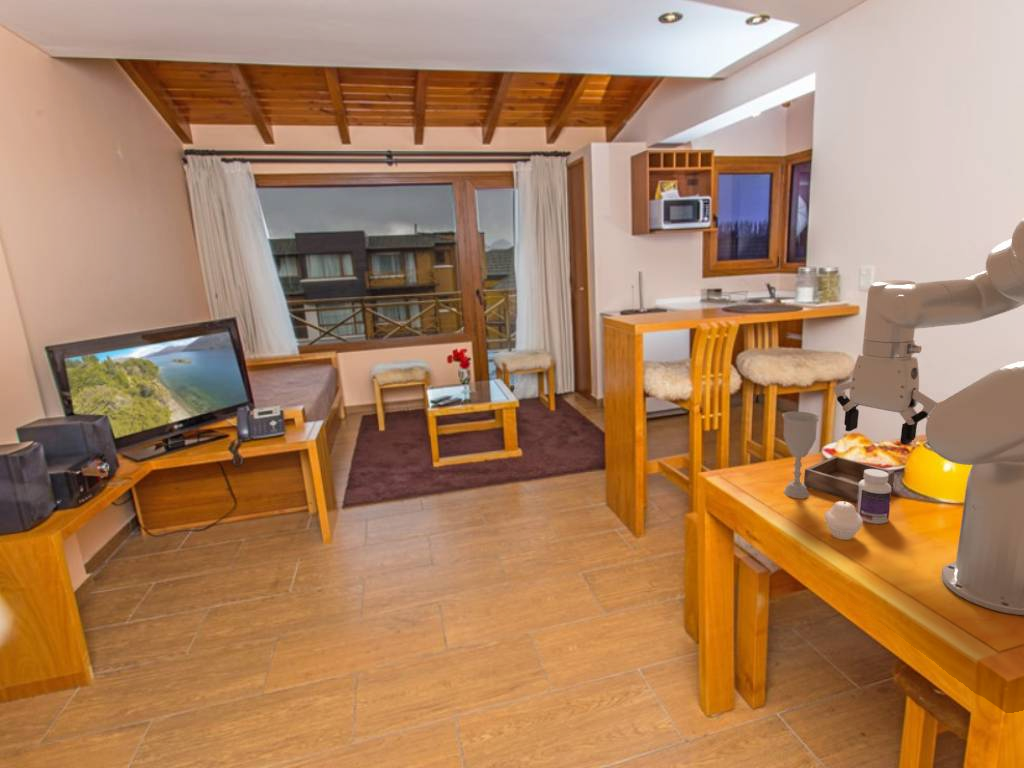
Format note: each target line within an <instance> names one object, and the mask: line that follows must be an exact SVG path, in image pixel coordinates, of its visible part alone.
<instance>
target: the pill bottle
mask: <svg viewBox="0 0 1024 768" xmlns="http://www.w3.org/2000/svg"><path fill="white" fill-rule="evenodd" d="M888 476H889V475H888V473H887V472H885V471H882V470H877V469H867V470H865V471H864V475H863V478H864V479H863V480H861V481H860V482H859V485H858V496H857V503H856V508H855V511H856V512H857V513H858V514H859V515H860V516H861V518H862V520H863V522H866V523H869V524H872V525H873V524H875V525H880V524H881V525H882V524H887V523H888V521H889V520H890V510H891V509H890V507H891V498H892V489H891V486H890V485H889V484H888V483H887V482H888Z"/></svg>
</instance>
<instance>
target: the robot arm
mask: <svg viewBox="0 0 1024 768" xmlns="http://www.w3.org/2000/svg"><path fill="white" fill-rule="evenodd" d="M1021 306H1024V217H1023V218H1022V219H1021V220H1020V222H1019V223H1018V224H1017V225H1016V227H1015V229H1014V231H1013V233H1012V236H1011V238H1010V239H1007V240H1006V241H1003V242H1001V243H999V244H998V245H996V246H995V247H993V248H992V249H991V251H990V252H989V253H988V256H987V258H986V261H985V271H982V272H980V273H977V274H974V275H971V276H970V277H966V278H962V279H949V280H939V281H938V280H937V281H930V282H929V281H928V282H914V281H911V280H881V281H876V282H873V283H872V284H871V285H870V286H869V287H868V291H867V300H866V310H865V311H866V312H865V321H864V331H863V332H864V333H863V342H862V351H861V353H859V354H858V355H857V358H856V361H855V364H854V368H853V371H852V375H851V381H848V382H845V383H842V384H838V385H835V386H833V388H832V389H833V392H834V394H835V396H836V400H837V402H838V403H839V404H840V405H841V407H842V411H844V412H845V413H844V424H843V425H844V426H845V429H844V431H845V432H851V431H853V430H855V429H857V428H858V423H859V413H860V410H859V409H858V408H857V407H858V406H863V407H866V408H867V407H868V408H872V409H877V410H882V411H888V412H893V413H898V414H899V415H900V416H901V418H903V420H904V423H902V425H901V434H900V439H899V440H900V441H899V442H900V444H901V445H903V446H905V445H907V444H909V443H911V442H913V441H915V439H916V435H917V428H918V423H919V422H920V421H922V420H924V419H925V418H927V417H928V418H927V421H926V423H925V436H926V437H925V438H926V440H927V443H928V445H929V446H930V448H931V450H933V452H934V453H936V454H937V455H938V456H939V457H941V458H942V459H944V460H946V461H948V462H951V463H954V464H958V465H965V466H971V468H970V470H969V473H968V474H967V475H968V476H967V481H966V487H965V491H964V500H963V506H962V508H963V509H962V516H961V522H960V530H959V536H958V537H959V538H958V545H957V552H956V559H955V561H953V562H949V563H948V564H945V566H943V567H942V570H941V580H942V582H943V583H944V585H945V586H946V587H947V588H948V589H949V590H950V591H952V592H953V593H954V594H955V595H957V596H959V597H961V598H963V600H964V599H965V600H966V601H968V602H971V603H972V604H975V605H977V606H980V607H983V608H984V609H985V608H986V609H989V610H992V611H996V612H999V613H1004V614H1009V615H1010V614H1011V615H1016V616H1018V615H1019V616H1024V359H1022V360H1019V361H1016V362H1012V363H1009V364H1007V365H1004V366H1002V367H1000V368H998V369H995V370H993V371H992V372H990V373H988V374H987V375H984V376H983V377H981V378H980V379H978V380H976V381H974V382H973V383H971V384H970V385H967V386H966V387H964V388H963V389H961V390H960V391H957V392H956V393H954V394H953V395H951V396H949V397H948V398H946V399H945V400H943V401H941V402H940V403H937V401H935V400H933V399H932V398H930V397H929V396H927V395H926V394H924V393H922V392H920V391H919V390H920V373H919V372H920V371H919V363H918V357H916V356H912V355H914V354H920V353H921V352H922V349H923V348H922V347H923V346H921V345H917V344H915V341H916V340H914V337H915V330H916V329H917V330H918V329H926V328H935V327H947V326H959V325H967V324H971V323H975V322H979V321H983V320H985V319H988V318H991V317H995V316H998V315H1001V314H1005V313H1007V312H1010V311H1013V310H1015V309H1018V308H1019V307H1020V308H1021ZM846 390H849V397H848V396H847V395H846V392H845V391H846ZM918 403H919V405H922V406H923V407H922V409H921V410H920V411H919V412H917V411H916V409H915V408H916V407H917V406H918Z"/></svg>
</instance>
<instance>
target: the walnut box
mask: <svg viewBox="0 0 1024 768" xmlns="http://www.w3.org/2000/svg"><path fill="white" fill-rule="evenodd" d="M867 469H877V470H882V471H885V472H887V473H888V475H889V476H888V482H887V483H888V484H889V485H890V486H891V488H892V487H893V488H894V481H895V473H896V472H895V471H894V470H891V469H888V468H883V467H881V466H876V465H872V464H867V463H864V462H860V461H856V460H853V459H848V458H845V457H841V456H837V455H834V456H831V457H829V458H826V459H825V460H822V461H820V462H818V463H816V464H814V465H811V466H809V467H807V468H805V469H804V477H803V478H804V479H803V484H804V485H805V486H806V488H809V489H813V490H815V491H818V492H821V493H824V494H827V495H830V496H833V497H836V498H839V499H842V500H846V501H847V502H848V501H849V502H850V503H851V502H853V503H854V504H857V496H858V485H859V482H860V481H861V480H863V479H864V478H863V475H864V471H865V470H867Z"/></svg>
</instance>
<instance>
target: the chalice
mask: <svg viewBox="0 0 1024 768" xmlns="http://www.w3.org/2000/svg"><path fill="white" fill-rule="evenodd" d="M781 416H782V418H783V439H784V441H785V444H786V447H787V449H788V451H789V454H790V455H791V456H793V457H795V462H794V463H793V466H794V468H795V469H794V470H793V472H792V474H793V475H794V479H793V480H792V481H790V482H788V483H787V485H786V486H785V489H784V490H783V493H784V495H785V496H788V497H790V498H793V499H794V498H795V499H807V498H809V497H810V493H809V491H808V489H807V487H806V486H805V485H804V482H802V481H801V480H800V477H801V475H802V474H803V473H802V471H801V468H802V467H803V465H802V462H801V459H802V458H805V457H806V456H807V455H808V454H809V452H810V451H811V450H812V448H813V446H814V444H815V442H816V440H817V429H818V428H817V426H818V425H817V424H818V422H819V420H820V419H821V417H820V416H819V415H817V414H815V413H812V412H806V411H787V412H783V413H782V414H781Z"/></svg>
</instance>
